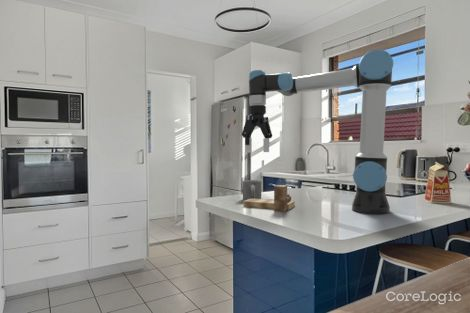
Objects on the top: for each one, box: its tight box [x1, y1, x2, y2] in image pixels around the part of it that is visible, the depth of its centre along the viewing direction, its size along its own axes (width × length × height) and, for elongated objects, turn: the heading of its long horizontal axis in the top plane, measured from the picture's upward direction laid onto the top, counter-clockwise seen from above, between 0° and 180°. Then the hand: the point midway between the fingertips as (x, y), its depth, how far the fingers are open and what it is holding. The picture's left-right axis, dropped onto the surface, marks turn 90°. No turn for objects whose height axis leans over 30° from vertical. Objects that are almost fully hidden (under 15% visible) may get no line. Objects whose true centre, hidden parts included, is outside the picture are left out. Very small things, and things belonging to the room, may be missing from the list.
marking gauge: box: [273, 184, 292, 213], centre depth 147 cm, size 4×16×11 cm, turn 156°
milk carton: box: [423, 161, 452, 205], centre depth 161 cm, size 9×9×20 cm
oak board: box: [242, 198, 296, 211], centre depth 152 cm, size 22×10×3 cm, turn 66°
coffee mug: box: [242, 179, 262, 201], centre depth 170 cm, size 13×10×10 cm
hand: (257, 152), depth 147 cm, fingers open, 13 cm apart
